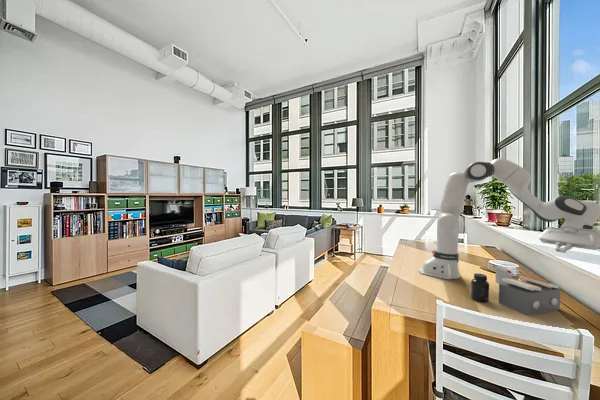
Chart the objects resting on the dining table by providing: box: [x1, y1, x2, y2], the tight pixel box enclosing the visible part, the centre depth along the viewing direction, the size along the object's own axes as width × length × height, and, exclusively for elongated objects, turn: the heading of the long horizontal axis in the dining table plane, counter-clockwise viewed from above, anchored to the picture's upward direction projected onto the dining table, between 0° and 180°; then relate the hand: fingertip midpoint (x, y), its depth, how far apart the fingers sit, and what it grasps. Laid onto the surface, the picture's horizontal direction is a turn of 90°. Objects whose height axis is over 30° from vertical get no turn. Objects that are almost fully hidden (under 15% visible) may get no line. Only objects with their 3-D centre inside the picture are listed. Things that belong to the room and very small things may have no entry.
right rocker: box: [518, 274, 560, 289], centre depth 105 cm, size 8×10×2 cm
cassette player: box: [495, 265, 520, 285], centre depth 124 cm, size 16×3×10 cm, turn 163°
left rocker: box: [502, 278, 542, 291], centre depth 102 cm, size 8×10×2 cm
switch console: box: [498, 280, 562, 316], centre depth 103 cm, size 20×12×9 cm, turn 105°
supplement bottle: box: [470, 273, 490, 304], centre depth 109 cm, size 7×7×12 cm
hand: (559, 251), depth 109 cm, fingers closed
